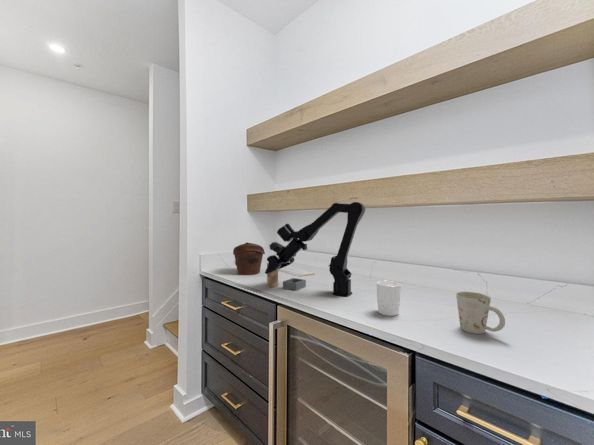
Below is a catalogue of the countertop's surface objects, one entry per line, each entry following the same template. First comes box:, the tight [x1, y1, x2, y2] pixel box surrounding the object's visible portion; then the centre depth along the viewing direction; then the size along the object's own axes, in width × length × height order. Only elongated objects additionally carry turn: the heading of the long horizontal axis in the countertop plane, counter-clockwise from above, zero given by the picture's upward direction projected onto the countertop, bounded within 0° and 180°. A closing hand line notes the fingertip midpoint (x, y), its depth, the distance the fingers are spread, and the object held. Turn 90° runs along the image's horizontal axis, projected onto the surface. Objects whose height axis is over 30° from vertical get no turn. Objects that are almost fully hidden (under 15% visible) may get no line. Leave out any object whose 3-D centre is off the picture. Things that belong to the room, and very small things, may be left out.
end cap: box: [282, 277, 307, 292], centre depth 127 cm, size 7×9×3 cm
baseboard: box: [278, 265, 315, 278], centre depth 166 cm, size 31×3×12 cm
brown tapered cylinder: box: [232, 242, 265, 276], centre depth 161 cm, size 18×20×18 cm
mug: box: [455, 291, 506, 335], centre depth 78 cm, size 8×13×10 cm, turn 28°
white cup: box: [376, 280, 402, 317], centre depth 94 cm, size 8×8×10 cm
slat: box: [266, 262, 279, 288], centre depth 130 cm, size 3×4×11 cm, turn 148°
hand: (270, 271), depth 130 cm, fingers open, 8 cm apart
